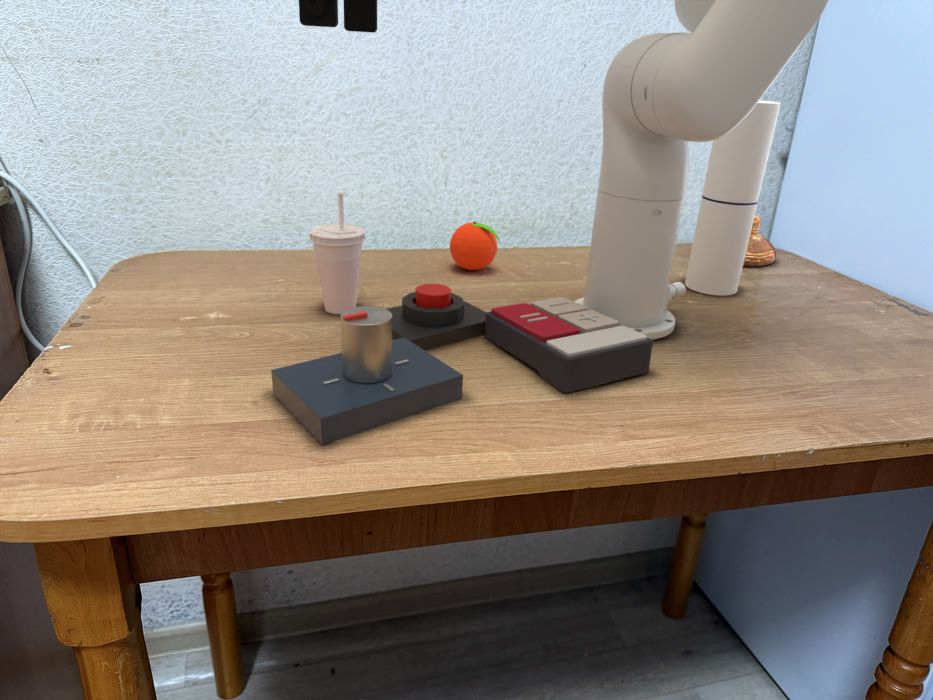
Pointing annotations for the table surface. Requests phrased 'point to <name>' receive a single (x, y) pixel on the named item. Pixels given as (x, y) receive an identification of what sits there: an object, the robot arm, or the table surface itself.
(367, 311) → the knob
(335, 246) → the smoothie
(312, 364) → the panel
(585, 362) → the calculator
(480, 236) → the clementine
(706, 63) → the robot arm
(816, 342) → the table surface
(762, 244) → the bell
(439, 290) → the button
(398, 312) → the button block
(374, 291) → the table surface
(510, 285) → the table surface
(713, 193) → the cylindrical container
